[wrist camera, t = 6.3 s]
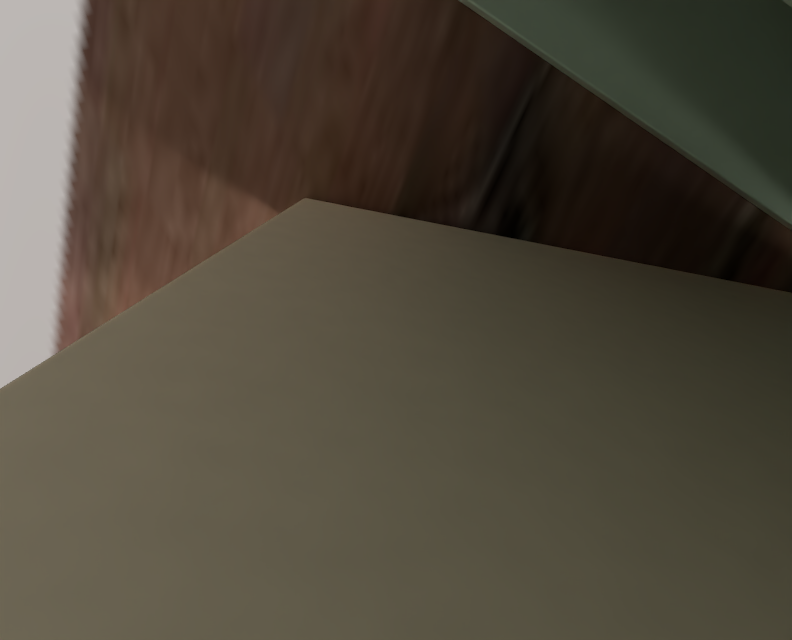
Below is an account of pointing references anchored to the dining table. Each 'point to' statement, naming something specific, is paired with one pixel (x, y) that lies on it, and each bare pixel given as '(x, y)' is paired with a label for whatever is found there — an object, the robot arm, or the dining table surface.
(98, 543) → the cupboard door
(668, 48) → the cupboard
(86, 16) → the dining table surface
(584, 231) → the dining table surface
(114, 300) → the dining table surface
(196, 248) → the dining table surface
